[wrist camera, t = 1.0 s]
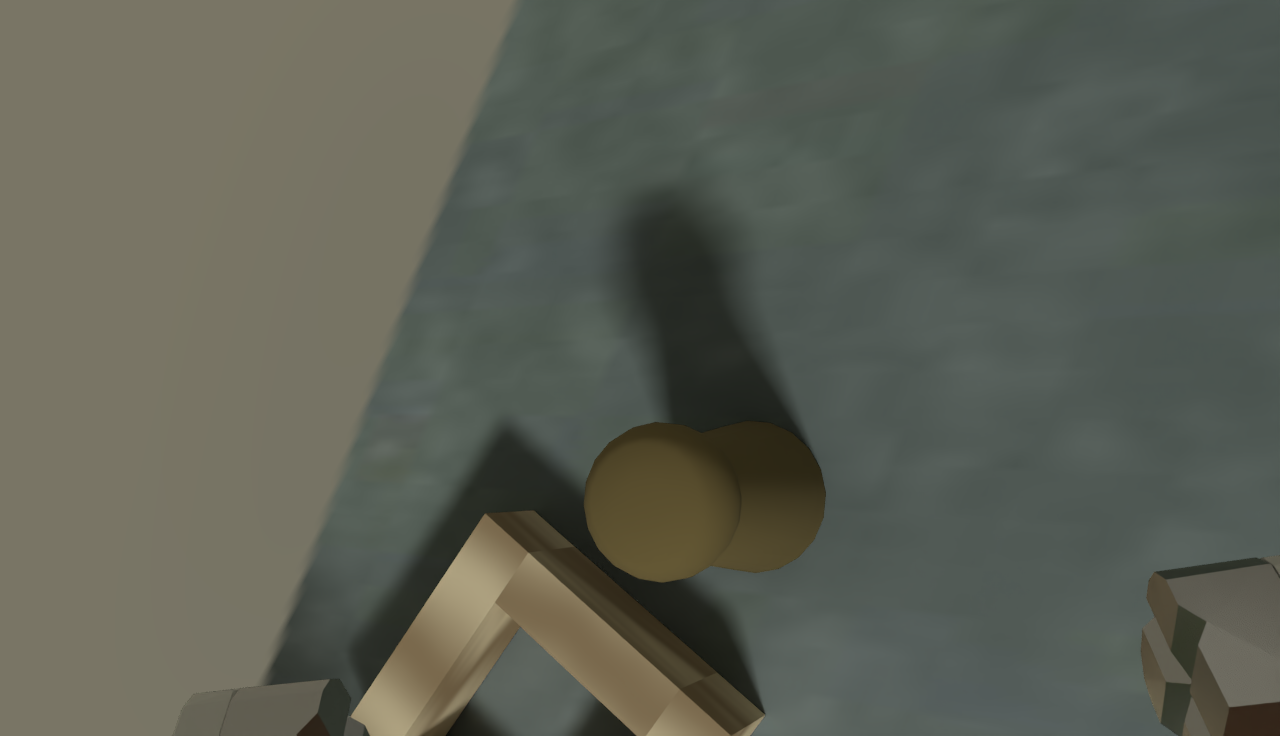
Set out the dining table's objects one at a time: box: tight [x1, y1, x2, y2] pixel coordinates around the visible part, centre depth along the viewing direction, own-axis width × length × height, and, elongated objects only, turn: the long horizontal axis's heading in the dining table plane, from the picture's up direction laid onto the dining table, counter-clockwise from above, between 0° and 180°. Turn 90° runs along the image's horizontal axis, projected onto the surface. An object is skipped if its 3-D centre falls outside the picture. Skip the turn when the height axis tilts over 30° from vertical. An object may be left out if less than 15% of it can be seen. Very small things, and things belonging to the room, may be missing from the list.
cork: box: [584, 421, 826, 583], centre depth 42 cm, size 6×6×11 cm
